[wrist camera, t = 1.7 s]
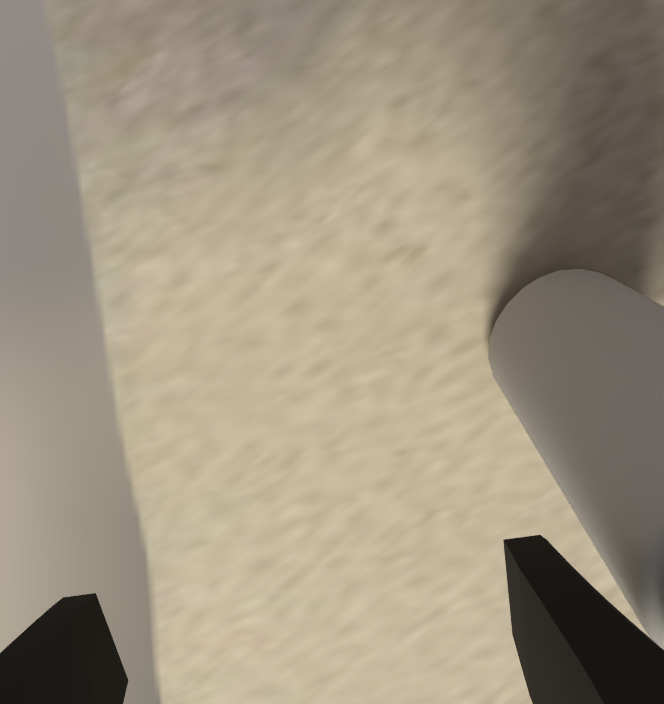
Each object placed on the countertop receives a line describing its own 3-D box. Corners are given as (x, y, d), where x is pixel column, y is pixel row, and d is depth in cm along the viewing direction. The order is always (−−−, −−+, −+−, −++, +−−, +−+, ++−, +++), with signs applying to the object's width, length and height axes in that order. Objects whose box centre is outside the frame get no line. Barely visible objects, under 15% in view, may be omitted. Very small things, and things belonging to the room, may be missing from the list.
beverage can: (474, 402, 21) (629, 730, 9) (494, 260, 19) (710, 447, 8) (618, 410, 21) (949, 748, 9) (650, 268, 19) (1098, 469, 8)
